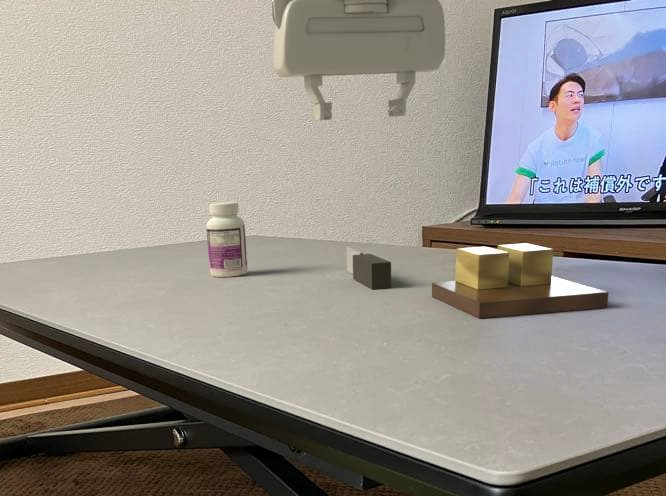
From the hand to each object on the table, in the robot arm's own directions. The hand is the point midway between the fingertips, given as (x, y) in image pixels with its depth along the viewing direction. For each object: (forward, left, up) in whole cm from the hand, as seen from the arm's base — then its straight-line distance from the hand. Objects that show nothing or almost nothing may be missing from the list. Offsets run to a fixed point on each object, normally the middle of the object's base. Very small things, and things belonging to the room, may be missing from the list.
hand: (360, 118), depth 105 cm
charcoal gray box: (-1, -5, -19) cm, 19 cm away
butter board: (-11, +21, -19) cm, 31 cm away
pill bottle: (+15, -19, -19) cm, 30 cm away
